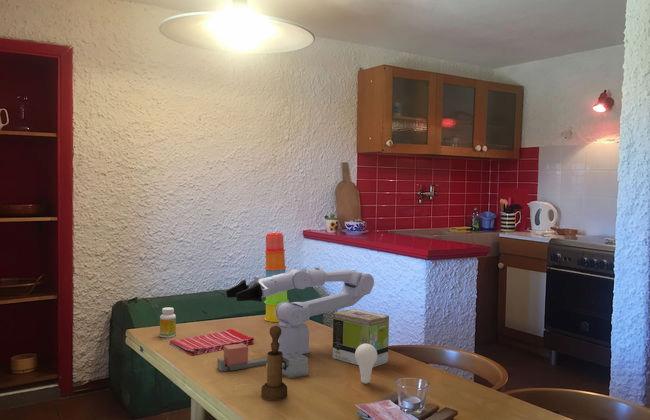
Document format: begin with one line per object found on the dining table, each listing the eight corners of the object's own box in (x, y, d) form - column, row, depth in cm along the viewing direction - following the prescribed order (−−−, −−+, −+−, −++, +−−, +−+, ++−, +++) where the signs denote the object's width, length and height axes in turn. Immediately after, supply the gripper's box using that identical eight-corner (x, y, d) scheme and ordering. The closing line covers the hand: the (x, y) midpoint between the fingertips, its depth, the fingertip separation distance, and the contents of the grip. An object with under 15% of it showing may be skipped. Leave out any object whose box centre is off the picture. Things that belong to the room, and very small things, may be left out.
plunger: (282, 368, 161) (283, 359, 161) (286, 371, 159) (287, 362, 159) (266, 371, 158) (266, 361, 158) (269, 373, 156) (270, 364, 156)
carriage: (242, 363, 169) (242, 343, 168) (248, 367, 165) (248, 346, 164) (223, 366, 166) (223, 345, 165) (228, 370, 162) (228, 349, 162)
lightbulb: (370, 389, 150) (371, 348, 150) (350, 384, 153) (351, 344, 153) (380, 382, 155) (381, 343, 155) (360, 378, 159) (361, 339, 158)
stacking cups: (281, 323, 219) (283, 234, 217) (259, 320, 223) (260, 233, 222) (294, 318, 228) (296, 233, 227) (272, 315, 232) (273, 231, 231)
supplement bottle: (171, 338, 195) (171, 310, 194) (156, 337, 196) (157, 309, 196) (178, 334, 200) (178, 307, 200) (164, 333, 201) (164, 306, 201)
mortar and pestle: (266, 402, 140) (268, 330, 139) (257, 393, 145) (258, 324, 145) (291, 398, 143) (292, 327, 142) (281, 389, 148) (282, 322, 148)
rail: (273, 360, 173) (274, 350, 173) (278, 363, 170) (278, 353, 170) (217, 368, 164) (217, 358, 164) (221, 371, 161) (221, 361, 161)
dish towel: (256, 345, 191) (256, 337, 191) (191, 357, 176) (192, 349, 175) (230, 334, 204) (230, 327, 204) (168, 345, 189) (168, 337, 189)
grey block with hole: (298, 368, 165) (298, 352, 165) (307, 375, 160) (308, 357, 160) (279, 371, 162) (279, 354, 162) (288, 378, 157) (289, 360, 157)
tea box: (389, 362, 173) (390, 315, 173) (368, 369, 166) (370, 320, 165) (351, 352, 184) (352, 307, 183) (331, 358, 176) (332, 311, 176)
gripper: (259, 270, 183) (220, 280, 176) (280, 275, 171) (239, 285, 163) (263, 292, 183) (224, 302, 176) (283, 297, 171) (243, 309, 164)
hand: (231, 295), depth 170 cm, fingers open, 7 cm apart
